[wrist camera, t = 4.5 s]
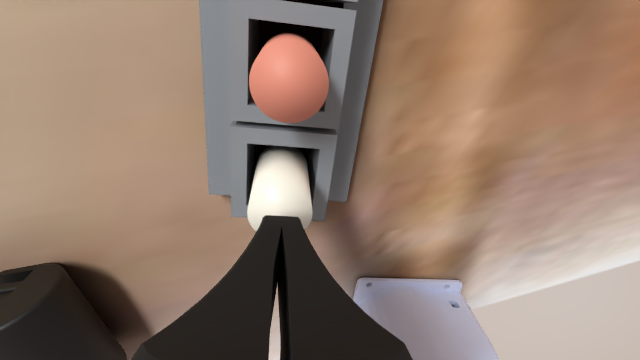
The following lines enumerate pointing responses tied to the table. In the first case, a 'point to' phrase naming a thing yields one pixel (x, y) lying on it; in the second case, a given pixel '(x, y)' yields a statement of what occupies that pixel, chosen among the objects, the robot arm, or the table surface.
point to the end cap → (50, 318)
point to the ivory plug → (280, 186)
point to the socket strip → (257, 128)
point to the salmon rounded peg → (288, 79)
